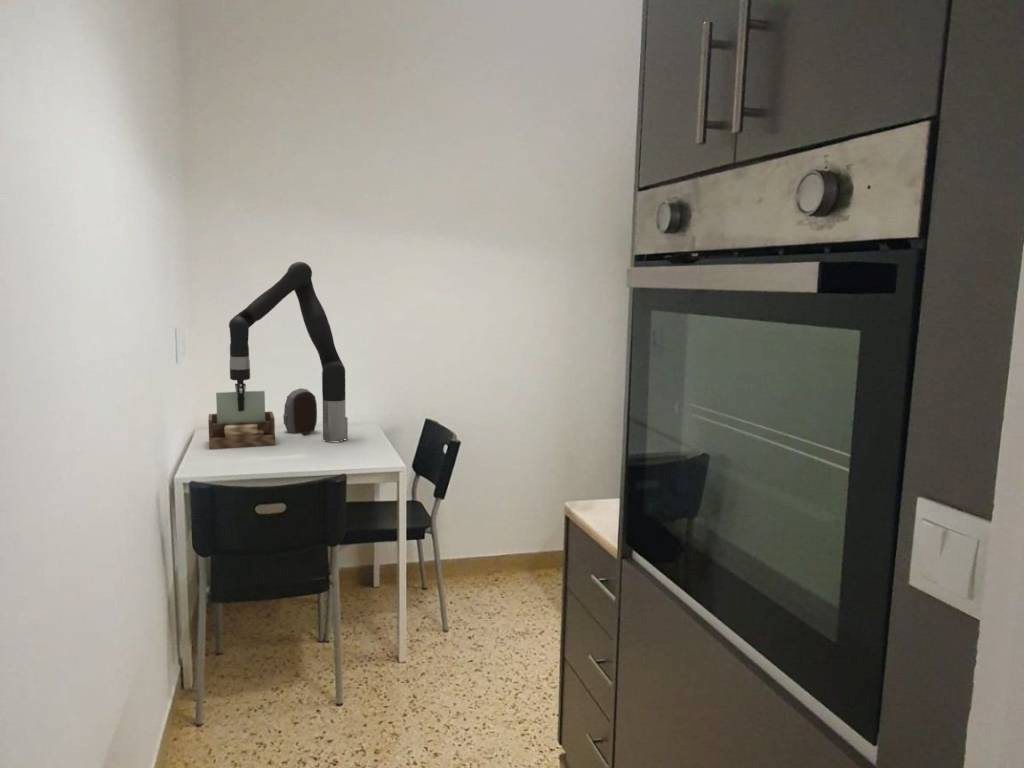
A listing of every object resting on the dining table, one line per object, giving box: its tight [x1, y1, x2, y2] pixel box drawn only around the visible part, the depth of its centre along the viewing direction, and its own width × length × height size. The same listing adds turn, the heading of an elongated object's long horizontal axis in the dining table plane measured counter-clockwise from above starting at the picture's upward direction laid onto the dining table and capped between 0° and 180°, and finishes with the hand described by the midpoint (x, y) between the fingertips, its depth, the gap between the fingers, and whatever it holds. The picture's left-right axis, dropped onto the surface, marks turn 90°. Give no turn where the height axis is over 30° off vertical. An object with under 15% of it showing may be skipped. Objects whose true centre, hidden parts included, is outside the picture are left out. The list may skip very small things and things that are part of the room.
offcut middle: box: [225, 430, 264, 438], centre depth 286 cm, size 14×5×2 cm, turn 115°
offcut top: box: [224, 424, 258, 434], centre depth 285 cm, size 12×5×2 cm, turn 109°
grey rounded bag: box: [282, 387, 318, 435], centre depth 313 cm, size 15×8×20 cm, turn 136°
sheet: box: [215, 390, 266, 424], centre depth 291 cm, size 18×2×20 cm, turn 112°
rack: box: [207, 410, 276, 450], centre depth 288 cm, size 24×14×12 cm, turn 112°
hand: (241, 410), depth 290 cm, fingers closed on sheet, 2 cm apart
